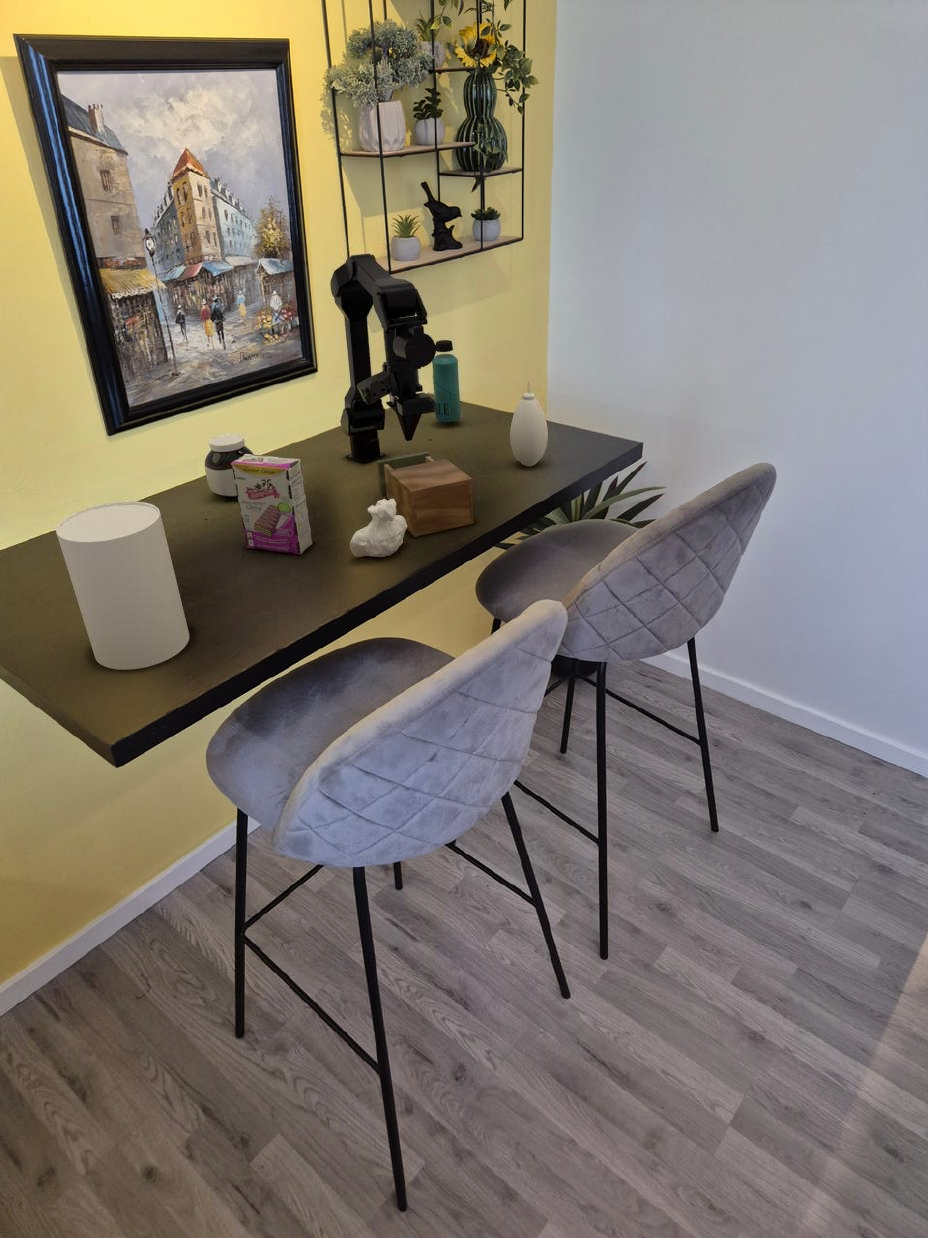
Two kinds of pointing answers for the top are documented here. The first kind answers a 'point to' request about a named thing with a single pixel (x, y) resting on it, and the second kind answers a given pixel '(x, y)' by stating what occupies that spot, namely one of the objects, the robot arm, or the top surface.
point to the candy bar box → (272, 503)
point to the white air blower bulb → (528, 430)
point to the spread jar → (224, 464)
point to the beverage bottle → (446, 383)
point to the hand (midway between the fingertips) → (408, 440)
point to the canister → (124, 583)
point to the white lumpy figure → (380, 531)
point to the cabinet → (432, 496)
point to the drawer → (395, 464)
